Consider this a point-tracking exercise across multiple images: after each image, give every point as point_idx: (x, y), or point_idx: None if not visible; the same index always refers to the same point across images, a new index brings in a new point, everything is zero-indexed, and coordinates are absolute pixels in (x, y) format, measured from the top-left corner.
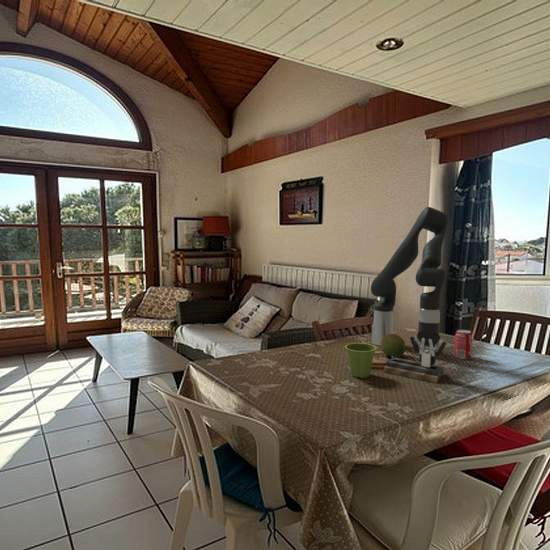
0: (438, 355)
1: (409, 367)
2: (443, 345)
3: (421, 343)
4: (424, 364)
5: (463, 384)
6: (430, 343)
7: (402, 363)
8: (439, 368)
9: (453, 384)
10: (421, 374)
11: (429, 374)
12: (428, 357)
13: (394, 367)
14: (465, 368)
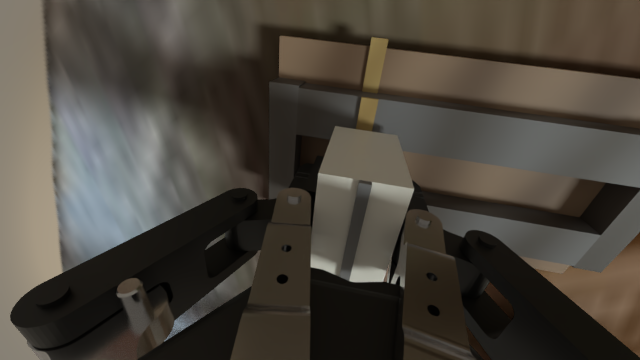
0: (240, 189)
1: (488, 111)
2: (93, 270)
3: (454, 312)
4: (373, 137)
5: (171, 98)
6: (288, 303)
7: (547, 162)
8: (280, 165)
9: (207, 70)
10: (385, 42)
11: (333, 85)
12: (337, 159)
13: (603, 120)
14: (233, 288)
